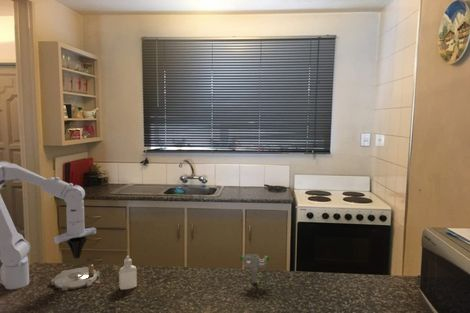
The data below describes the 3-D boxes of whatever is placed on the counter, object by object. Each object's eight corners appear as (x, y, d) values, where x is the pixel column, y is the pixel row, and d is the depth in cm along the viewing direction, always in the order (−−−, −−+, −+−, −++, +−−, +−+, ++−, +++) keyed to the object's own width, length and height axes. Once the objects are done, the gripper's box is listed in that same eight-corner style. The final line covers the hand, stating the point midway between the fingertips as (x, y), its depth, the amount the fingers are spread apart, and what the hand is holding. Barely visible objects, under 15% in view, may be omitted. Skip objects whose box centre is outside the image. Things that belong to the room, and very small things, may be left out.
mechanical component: (268, 284, 125) (269, 257, 124) (240, 283, 125) (240, 257, 124) (267, 280, 127) (268, 254, 127) (240, 280, 128) (240, 253, 127)
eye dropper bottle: (134, 292, 117) (133, 258, 116) (117, 292, 117) (117, 258, 116) (138, 286, 121) (137, 253, 120) (122, 286, 122) (122, 253, 121)
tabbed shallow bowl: (43, 289, 116) (43, 273, 116) (67, 270, 132) (67, 256, 131) (85, 290, 116) (85, 275, 115) (104, 271, 131) (104, 257, 131)
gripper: (60, 227, 114) (62, 267, 115) (100, 218, 125) (101, 254, 127) (50, 223, 118) (51, 261, 119) (89, 214, 129) (90, 249, 131)
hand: (76, 257), depth 123 cm, fingers closed
